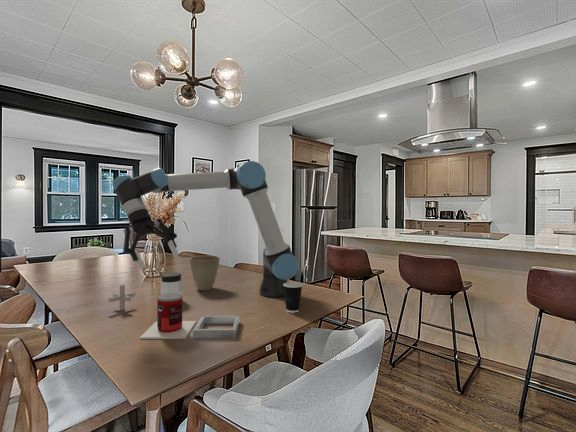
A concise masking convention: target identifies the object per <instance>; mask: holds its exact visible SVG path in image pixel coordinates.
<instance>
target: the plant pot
mask: <svg viewBox="0 0 576 432" xmlns="http://www.w3.org/2000/svg"><path fill="white" fill-rule="evenodd" d="M220 258H221V257H220V256H215V255H198V256H192V257H190V258H189V262H190V268H191V272H192V278H193V281H194V283H195V286H196V289H197V290H198V291H209V290H212V289H213V286H214V284H215V281H216V279H217V275H218V271H219V265H220Z"/></svg>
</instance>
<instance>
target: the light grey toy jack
mask: <svg viewBox="0 0 576 432" xmlns="http://www.w3.org/2000/svg"><path fill="white" fill-rule="evenodd" d="M125 292H126V284H119V293H118V292H114V294H113V295H112V297H108V303H115V302H118V301H119V311H124V310H126V308H125V307H126V302H131V301H132V298H134V297H136V292H135V291H134V292H130V293H125Z"/></svg>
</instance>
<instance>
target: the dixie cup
mask: <svg viewBox="0 0 576 432" xmlns="http://www.w3.org/2000/svg"><path fill="white" fill-rule="evenodd" d="M283 285H284V292H285V296H284V300H285V301H284V302H285V309H286V312H287V313H289V312H290V314H296V313H295V312H297V313H298V312H299V310H300V305H301V296H302V291H303V290H302V288H303V285H304V284H303V283H301V282H296V281H289V282H288V283H284V284H283Z"/></svg>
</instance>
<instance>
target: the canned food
mask: <svg viewBox="0 0 576 432" xmlns="http://www.w3.org/2000/svg"><path fill="white" fill-rule="evenodd" d="M156 305H157V308H156V310H157V315H156V316H157V317H156V318H157V328H158V330H159V331H160V332H174V331H178V330H179V329H181V327H182V321H183V294H182V295H181V294H178V293H169V294H163V295H161V294H160V295H158V296H157V304H156Z"/></svg>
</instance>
